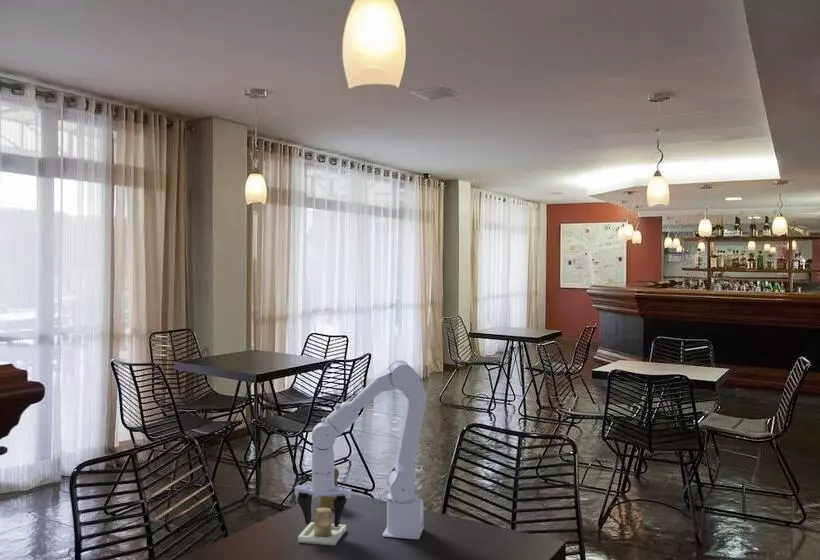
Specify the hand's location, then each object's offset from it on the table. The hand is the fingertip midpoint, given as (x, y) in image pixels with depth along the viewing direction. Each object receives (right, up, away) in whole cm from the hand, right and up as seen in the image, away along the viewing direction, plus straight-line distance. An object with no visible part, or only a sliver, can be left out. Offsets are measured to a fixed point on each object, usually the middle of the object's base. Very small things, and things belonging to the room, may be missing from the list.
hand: (322, 524), depth 162 cm
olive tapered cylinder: (-1, -3, +22) cm, 22 cm away
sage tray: (0, -3, 0) cm, 3 cm away
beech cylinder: (0, -3, 0) cm, 3 cm away
